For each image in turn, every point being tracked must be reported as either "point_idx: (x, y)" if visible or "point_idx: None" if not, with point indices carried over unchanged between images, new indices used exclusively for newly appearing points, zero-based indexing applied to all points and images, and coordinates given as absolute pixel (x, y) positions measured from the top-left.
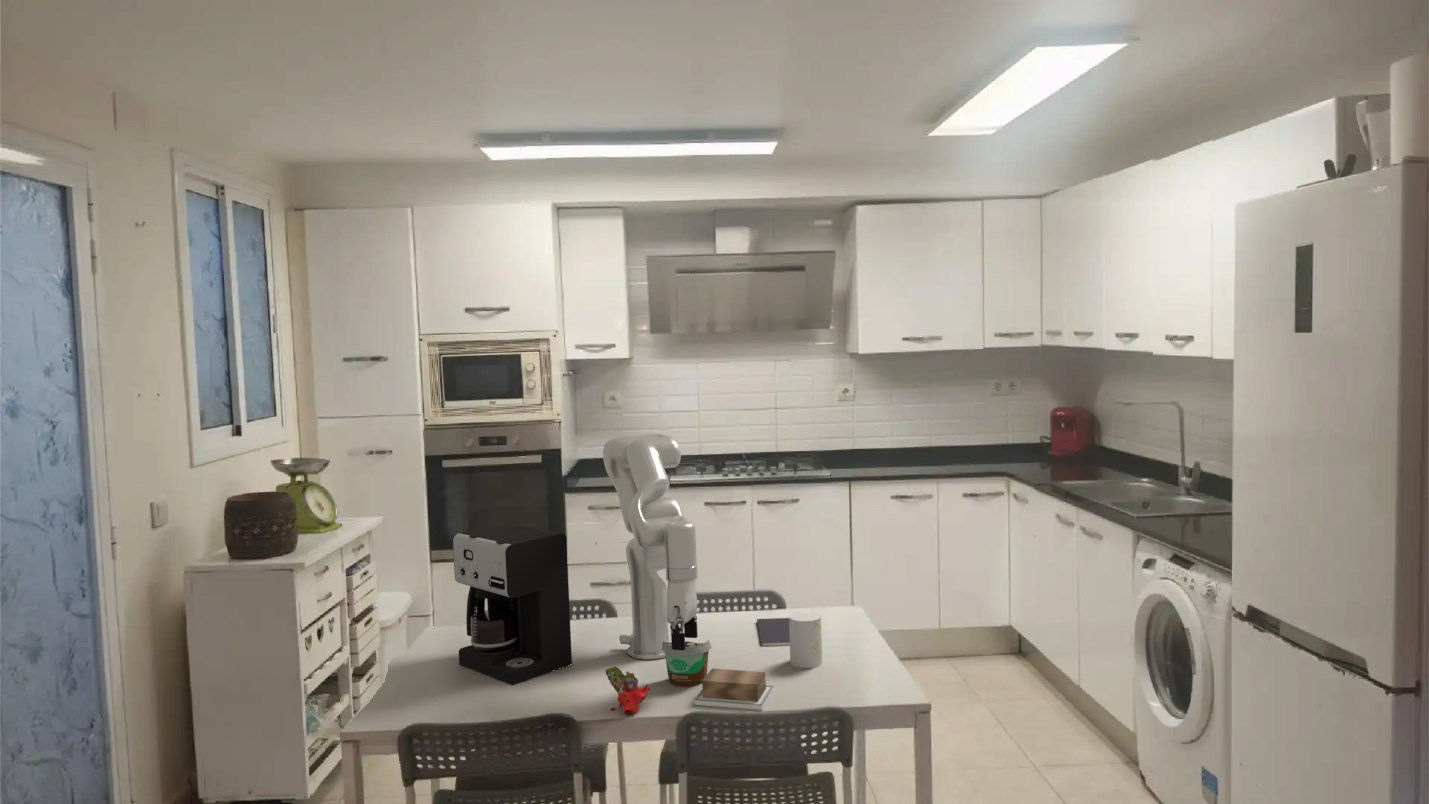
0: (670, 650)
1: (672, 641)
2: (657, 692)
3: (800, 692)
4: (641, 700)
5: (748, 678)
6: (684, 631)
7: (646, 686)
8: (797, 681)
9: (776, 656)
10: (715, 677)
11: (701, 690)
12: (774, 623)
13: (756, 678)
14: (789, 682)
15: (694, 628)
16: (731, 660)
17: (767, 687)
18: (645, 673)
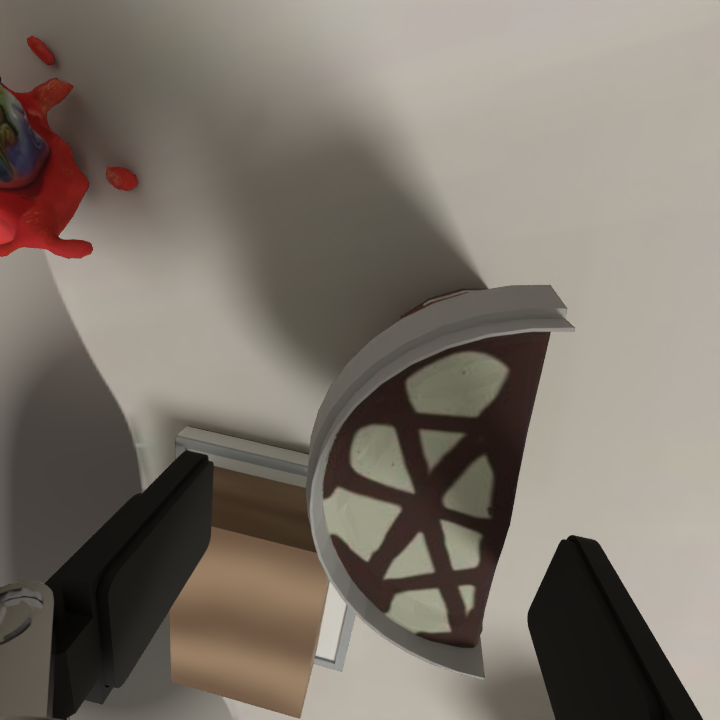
0: (333, 396)
1: (142, 504)
2: (295, 255)
3: (332, 705)
4: (74, 211)
5: (224, 666)
6: (598, 584)
7: (19, 244)
8: (424, 714)
9: (712, 705)
10: (215, 564)
11: (272, 460)
12: None
13: (230, 687)
14: (416, 696)
15: (563, 710)
16: (714, 560)
17: (329, 653)
18: (600, 117)
